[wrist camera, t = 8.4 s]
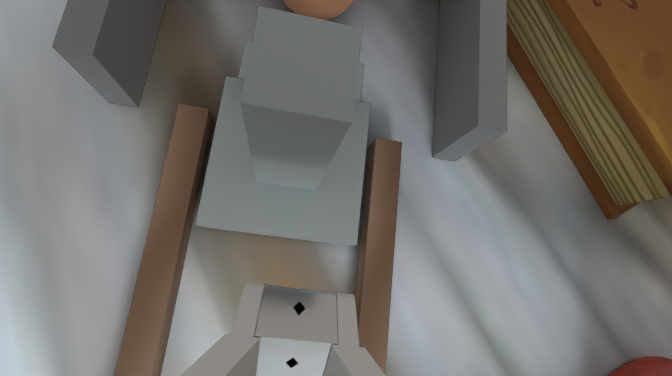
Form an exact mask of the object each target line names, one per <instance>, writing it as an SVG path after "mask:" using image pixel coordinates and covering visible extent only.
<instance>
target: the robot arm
mask: <svg viewBox="0 0 672 376" xmlns="http://www.w3.org/2000/svg"><path fill="white" fill-rule="evenodd" d="M181 376H386V375H385V374H384V373H383V371H382V370H381V369H380V367H379V366H378V365H377V363H376V362H375V360H374V359H373V358H372V356H371V355H370V354H369V352H368V351H367V350H366V348H364V347H360V346H359V335H358V325H357V314H356V303H355V297H354V295H353V294H346V293H335V292H328V291H318V290H308V289H295V288H288V287H281V286H273V285H266V284H265V285H264V284H257V283H249V282H246V283H245V285H244V288H243V292H242V295H241V299H240V303H239V307H238V311H237V314H236V318H235V322H234V326H233V329H232V333H231V335H226V334H225V335H224V336H223V337H222V338H221V339H220V340H219V341H218V342H217V343H215V344H214V345H213V346H212V347H211V348H210V349H209V350H208V351H207V352H206V353H205V354H204V355H202V356H201V357H200V358H199V359H198V360H197V361H196V362H195V363H194V364H193V365H192V366H191V367H189V368H188V369H187V370H186V371H185V372H184V373H183V374H182V375H181Z"/></svg>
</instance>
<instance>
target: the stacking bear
mask: <svg viewBox="0 0 672 376" xmlns="http://www.w3.org/2000/svg"><path fill="white" fill-rule="evenodd" d="M610 376H672V360H671V359H667V358H663V357H644V358H639V359H636V360H634V361H631V362H629V363H627V364H626V365H624V366H622V367H621V368H619V369H618V370H616V371H615V372H614V373H612V374H611V375H610Z"/></svg>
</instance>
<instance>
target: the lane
mask: <svg viewBox="0 0 672 376" xmlns="http://www.w3.org/2000/svg"><path fill="white" fill-rule="evenodd" d="M213 122H214V119H213V117H212V115H211V112H210V110H209V109H208V108H202V107H196V106H190V105H185V104H179V105H178V109H177V114H176V118H175V122H174V126H173V131H172V135H171V139H170V143H169V147H168V152H167V156H166V160H165V164H164V168H163V173H162V177H161V181H160V185H159V190H158V194H157V198H156V202H155V206H154V211H153V215H152V219H151V223H150V227H149V232H148V236H147V240H146V244H145V249H144V253H143V257H142V261H141V265H140V270H139V274H138V278H137V282H136V286H135V291H134V295H133V299H132V303H131V308H130V312H129V316H128V320H127V324H126V329H125V333H124V337H123V341H122V345H121V350H120V354H119V358H118V362H117V367H116V371H115V375H114V376H160V375H161V370H162V365H163V361H164V356H165V351H166V346H167V342H168V337H169V332H170V327H171V322H172V318H173V313H174V308H175V303H176V299H177V294H178V289H179V284H180V279H181V275H182V270H183V265H184V260H185V256H186V251H187V246H188V241H189V236H190V232H191V227H192V222H193V217H194V213H195V208H196V203H197V198H198V193H199V189H200V184H201V179H202V174H203V170H204V165H205V160H206V155H207V150H208V146H209V141H210V136H211V131H212V127H213ZM401 148H402V142H398V141H392V140H386V139H381V138H376V139H375V140H374V141H373V142H372V144H371V145H370V146H369V153H368V164H367V174H366V185H365V195H364V206H363V216H362V227H361V237H360V248H359V258H358V269H357V279H356V290H355V303H356V314H357V325H358V335H359V346H360V347H364V348H366V350H367V351H368V352H369V354H370V355H371V356H372V358H373V359H374V360H375V362H376V363H377V365H378V366H379V367H380V369H381V370H382V371H383V373H384V374H385V370H386V356H387V342H388V328H389V315H390V301H391V287H392V273H393V259H394V245H395V232H396V218H397V204H398V190H399V176H400V162H401Z"/></svg>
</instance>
